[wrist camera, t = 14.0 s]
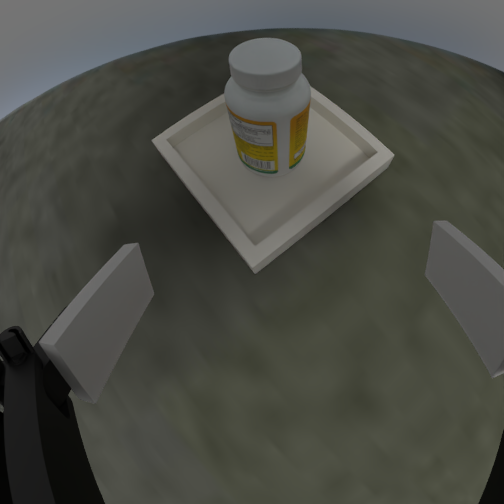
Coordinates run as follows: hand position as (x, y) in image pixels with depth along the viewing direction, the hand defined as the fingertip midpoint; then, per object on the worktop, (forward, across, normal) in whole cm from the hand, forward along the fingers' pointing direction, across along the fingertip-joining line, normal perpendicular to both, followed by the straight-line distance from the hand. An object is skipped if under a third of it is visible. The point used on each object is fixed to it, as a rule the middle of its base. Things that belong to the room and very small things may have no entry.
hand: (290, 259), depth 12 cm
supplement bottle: (+13, 0, +3) cm, 13 cm away
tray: (+13, -1, +3) cm, 13 cm away
